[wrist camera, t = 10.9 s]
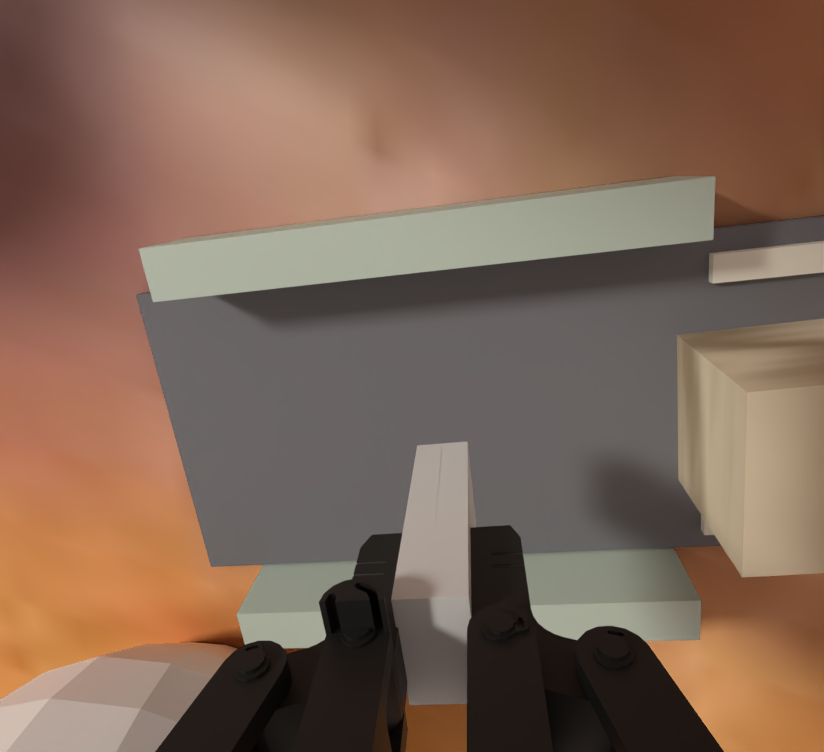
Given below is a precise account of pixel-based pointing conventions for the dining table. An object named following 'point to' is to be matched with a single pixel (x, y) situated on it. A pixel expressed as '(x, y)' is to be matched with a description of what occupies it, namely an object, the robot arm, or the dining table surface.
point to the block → (756, 442)
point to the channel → (440, 250)
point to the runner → (463, 392)
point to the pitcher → (109, 700)
